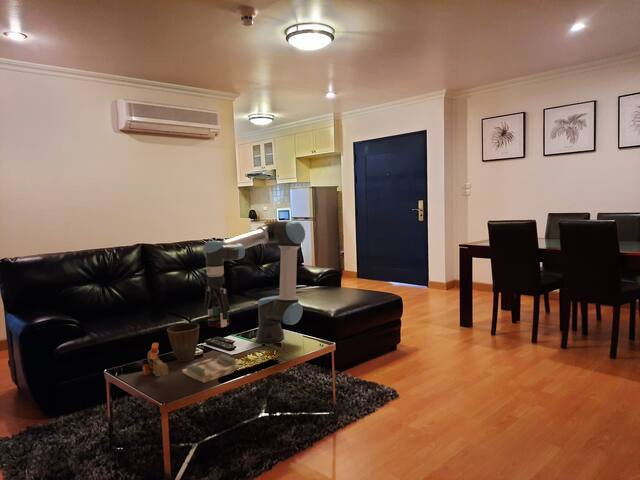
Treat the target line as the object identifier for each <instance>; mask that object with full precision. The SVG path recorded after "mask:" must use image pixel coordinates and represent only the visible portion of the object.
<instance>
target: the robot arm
mask: <svg viewBox="0 0 640 480" xmlns="http://www.w3.org/2000/svg"><path fill="white" fill-rule="evenodd" d="M305 238H306V231H305V228H304V226H303V225H302V224H301V222H299V221H294V220H287V221H286V220H285V221H283V220H282V221H279V220H278V221H273V222H270V223H266V224H264V225H261V226H258V227H257V228H255V230H251V231H248V232H245V233H241V234H239V235H235V236H232V237H230V238H226V239H224V240H208V241H206V242H205V245H204V247H203V249H202V252H203V256H204V257H205V264H206V266H205V268H206V269H205V270H206V285H207V286H205V288H204V289H205V294H204V295H205V296H204V305H203V306H204V308H206V309H207V317H210V316H212V315H213V307H214V302H215V299H217V302H218V303H219V304H218V306H220V309H221V312H220V317H221V327H220V328H224V327H227V326H228V325H227V311H228V312H230V311H231V308H230V307H231V306H230V304H229V303H230V302H229V298H228V288H224V286H223V284H225V276H224V274H225V269H224V262H227V261H238V260H241V259H243V258H244V257H245V254H246V249H248V248H250V247H251V248H252V247H254V246H257V245H260V244H262V245H265V244H270V243H271V244H272V243H273V244H275V243H277V244H278V245H277V247H278V248H279V250H280V267H279V268H280V269H279V272H280V273H279V294H278V295H277V296H276V295H273V296H267V297H262V298H260V299H258V301H257V313H258V329H257V334H256V335H255V336H256V337H255V338H256V342H258V343H259V342H260V343H264V344H265V343H267V344H268V343H271V344H272V343H277V342H280V341H283V340H284V339H285V333H284V331H283V327H282V325H281V324H284V325H292V326H293V325H295V324H297V323H299V321H300V320H301V318H302V316H303V312H304V311H303V309H304V307H303V306H302V304H301V303H300V302H299V297H298V296H297V295H296V294H297V268H298V267H297V265H298V261H297V260H298V250H299V249H300V248H301V244H302V243H304V240H305ZM223 309H224V310H223ZM212 318H213V317H212ZM208 320H214V319H208Z"/></svg>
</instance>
